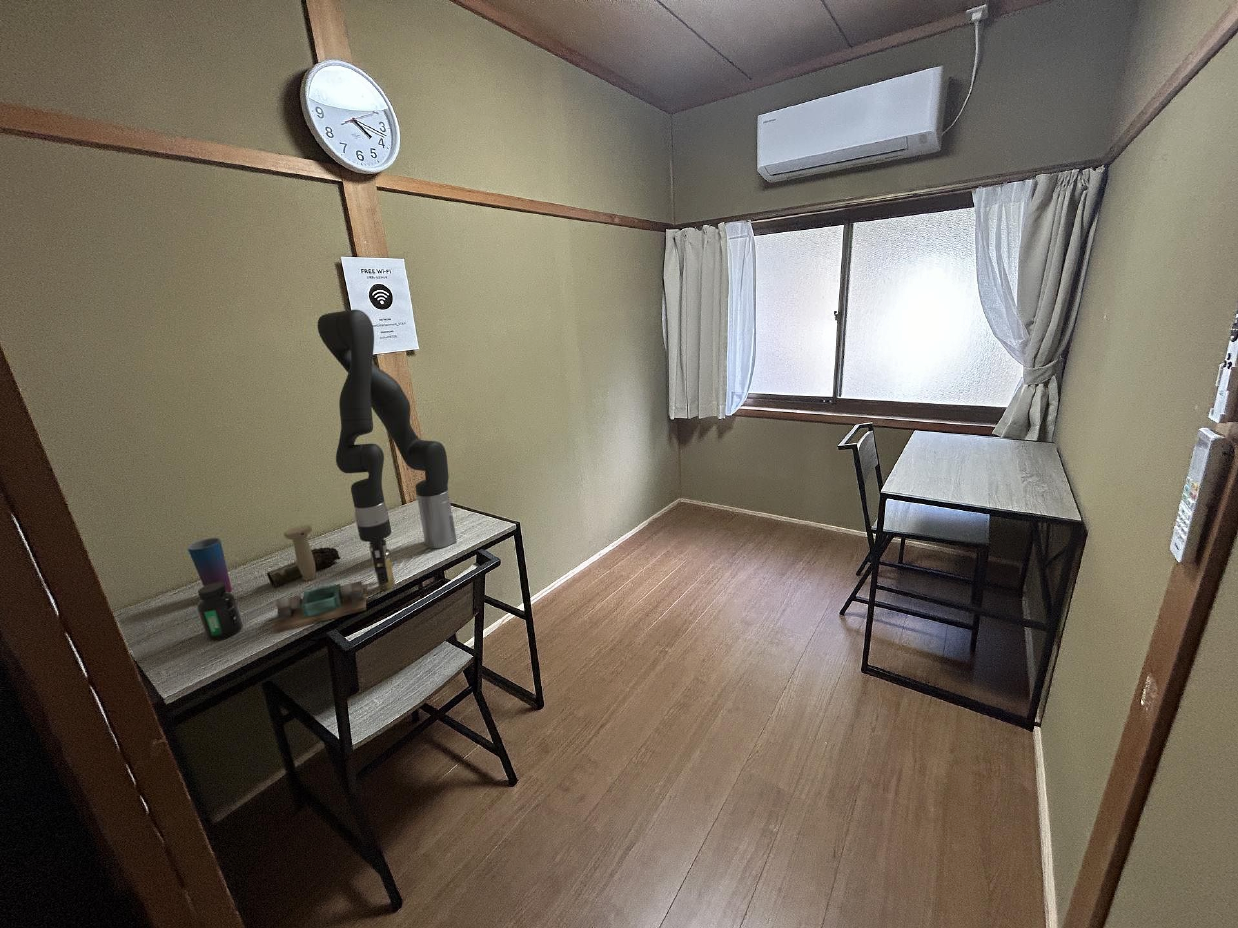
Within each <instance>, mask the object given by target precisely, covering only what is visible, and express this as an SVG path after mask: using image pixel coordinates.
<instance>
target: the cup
mask: <svg viewBox="0 0 1238 928" xmlns="http://www.w3.org/2000/svg"><path fill="white" fill-rule="evenodd" d="M187 551H188V553H189V555H190V558H191V559H192V562H193V565H194V567H195V569H196V571H197V574H198V575H199V579H200V581H201V583H202V587H204V586H206V585H209V584H212V583H218V582H221V583H224V585H225V588H226V590H227V591H226V592H229V593H232V585H231V582H230V576H229V571H228V568H227V562H226V559H225V558H226V557H225V554H224V550H223V545H222V541H221V538H220V537H209V538H204V539H200V540H196V541H194V542H192V543H190V544H189V545H188V546H187Z"/></svg>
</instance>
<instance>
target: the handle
mask: <svg viewBox="0 0 1238 928" xmlns="http://www.w3.org/2000/svg"><path fill="white" fill-rule="evenodd" d="M312 530H313V528H312V525H311V524H310V525H309V524H301V525H298V526H297V525H296V526H294V527H292V528H289V529H287V530H285V531H284V532H283V536H284V538H285V539H287V540H291V541H292V544H293V549H294V552H295V558H296V559H295V560H296V562H297V564H298V567H299V570H300V573H301V574H302V575H301V577H302V580H304V581H306V582H308V581H313V580H314V579H315V578H316V577H317V572H316V570H317V569H316V568H315V562H314V558H313V555H312V552H311V550H312V549H311V546H310V542H309V539H308V535H309V534H310V533H312Z"/></svg>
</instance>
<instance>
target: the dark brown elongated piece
mask: <svg viewBox="0 0 1238 928" xmlns="http://www.w3.org/2000/svg"><path fill="white" fill-rule="evenodd" d="M311 552H312V555H313V558H314V562H315V568H316V570H319V569H321V570H322V569H323V568H329V567H333V565H334V562H335V561H337V560H341V558H342V557H341V556H340V553H339V551H338V550H337V548H335V547H330V546H329V547H319V548H313V549H311ZM266 575H267V578H268V580H269V582H270V585H272V587H273V588H277V587H279V586H281V585H283V584H286V583H287V582H290V581H292V580H294V579H297V578H298V577H302V576H303V575H302V574H301V573H300V570H299V567H298V564H297V561H296V562H293V563H290V564H287V565H284V566H281V567H278V568H276V569H273V570H270V571H268V572H266Z"/></svg>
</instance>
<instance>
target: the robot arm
mask: <svg viewBox="0 0 1238 928" xmlns="http://www.w3.org/2000/svg"><path fill="white" fill-rule="evenodd" d="M317 331H318V334H319V337H320V339H321V340H322V342H323V344H324V346H325V347H326V348H327V349H328V351H329V352H330V353H331V354H332V356H334V358H335V359H336V360H337V361H338V362H339V364H340V365H341V367H343V369H344V370H345V371H346V372H347V376H346V378H345V381H344V383H343V386H342V388H341V392H340V395H339V403H338V405H339V406H338V407H339V416H340V417H339V418H340V434H339V440H338V444H337V449H336V454H335V462H336V466H337V468H338V469H339V471H341V472H342V473H344V474H358V473H359V474H360V473H361V474H362V473H368V477H367V478H364V479H360V480H358V481H355V482H353V483H352V484H351V486H350V493H351V498H352V503H353V507H354V515H355V516H354V517H355V521H356V522H355V523H356V526H357V531H358V535H359V540H360V541H363V542H366V543H367V542H369V546H368V548H369V552H370V557H371V556H372V559H371V561H372V564H373V567H374V572H375V574H376V573H377V575H378V580H379V584H384V583H388V575H387V566H386V561H387V554H386V550H387V549H388V547H387V540H386V539H387V538H388V537H389V536H390V535H391V534H392V528H391V527H392V526H391V521H390V517H389V512H388V507H387V504H386V501H385V497H384V491H383V484H382V483H383V469H384V462H385V454H384V451H383V449H382V448H381V447H380V446H379V445H378V444H376V443H359V444H357V443H356V444H355V442H356V441H357V438H358V437H361V436H364V435H368V434H370V433H372V432H373V430H374V421H373V412H374V414H375V415H376V416H377V417H378V418H379V420H380V421H381V423H382V424H383V426H384V428H385V429H386V431H387V433H388V434H389V435H390V437H391V438H392V440H393V443H394V444H395V446H396V448H397V450H398V452H399V454H400V455H401V458H402V459H403V460H402V461H404V463H405V465H407V466H408V468H409V469H412V470H413V471H421V472H424V474H425V475H424V476H425V479H424V480H421V481H419V482H418V483H417V482H416V485H415V494H416V498H417V499H416V500H417V505H418V511H419V515H420V521H421V526H422V533H423V541H424V545H425V546H426V548H429V549H442V548H445V547H448V546H451V545H452V544H456V543H458V540H457V533H456V529H455V528H456V527H455V521H454V515H453V512H452V505H451V501H450V494H449V487H448V484H449V468H448V467H449V466H448V456H447V451H446V448H445V446H444V444H442V443H441V442H439V441H437V440H436V441H435V440H423V439H421V438H419V437H418V435H417V434H416V432H415V430H414V429H413V428H412V425H411V404H410V400H409V398H408V396H407V395H406V393H405V392H404V390H403V388H402V387H401V385H400V384H399V383H398V381H397V380H396V379H395V378H394V377H392V376H391V375H390V374H388V373H387V372H385V371H384V370H383V369H381V368H379V367H378V365H377V366H376V365H375V364H374V363H373V359H374V350H375V349H374V348H375V347H374V346H375V331H374V325H373V323H372V320H371V319H370V316H369V315H368V314H367V313H366V312H364V311H363V310H361V309H348V310H347V309H346V310H342V311H341V310H340V311H333V312H329V313H325V314H323V315H321V316H320V317H319V318H318V321H317ZM383 555H384V556H383ZM379 563H382V564H383V566H380V567H378V565H377V564H379Z"/></svg>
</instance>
